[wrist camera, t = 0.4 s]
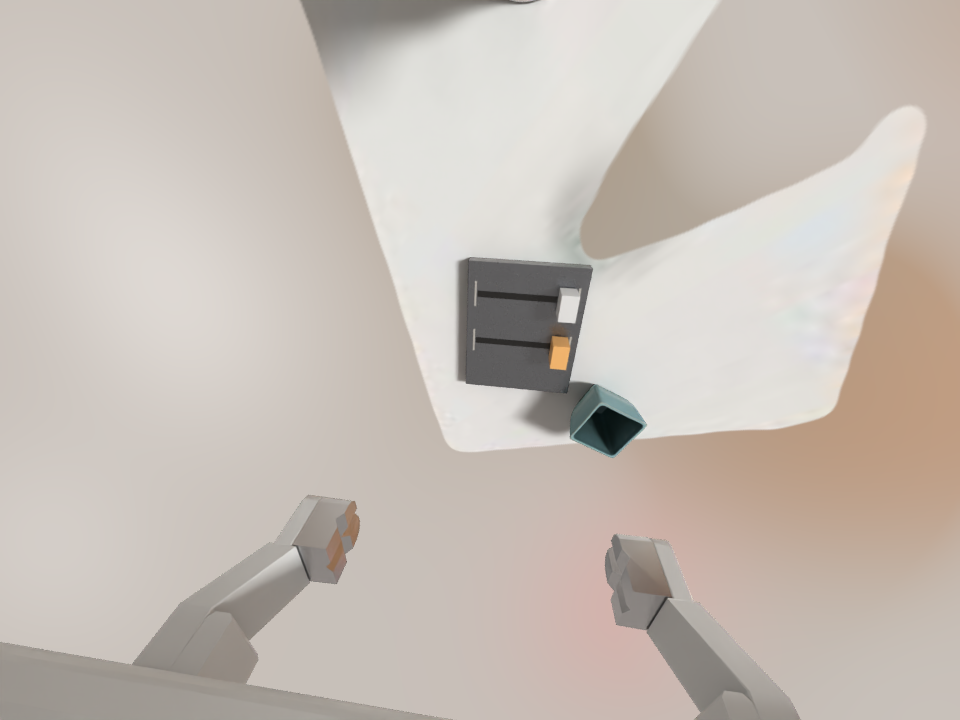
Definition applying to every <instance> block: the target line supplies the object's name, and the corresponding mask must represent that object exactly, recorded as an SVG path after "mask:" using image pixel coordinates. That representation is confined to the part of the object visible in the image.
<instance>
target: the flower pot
mask: <svg viewBox="0 0 960 720" xmlns="http://www.w3.org/2000/svg"><path fill="white" fill-rule="evenodd" d="M646 426H647V424H646V423H645V421H644V420H643V418H642V417H641V415H640V414H639V412H638V411H637V410H636V408H635V407H634V406H633V405H632V404H631V403H630V402H629V401H627V400H626V399H624V398H622V397H621V396H619V395H617V394H614V393H613V392H610V391H608V390H606V389H604V388H602V387H600V386H598V385H593V386H592V387H591V388H590V390H589V391H588V392H587V393H586V394H585V396H584V397H583V398H582V399H581V400H580V402H579V403H578V404H577V406H576V407H575V409H574V410H573V413H572V415H571V420H570V439H572V440H573V441H576V442H578V443H580V444H583V445H585V446H586V447H589V448H591V449H593V450H595V451H597V452H600V453H602V454H604V455H606V456H608V457H611V458H614V457H616V456H617V455H618V454H619V453H620V452H621V451H622V450H623V449H624V448H625V447H626V446H627V445H628V444H629V443H630V442H631V441H632V440H633V439H634V438H635V437H636V436H637V435H638V434H639V433H640V432H642V431H643V430H644V429H645V427H646Z"/></svg>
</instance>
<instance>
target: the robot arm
mask: <svg viewBox="0 0 960 720" xmlns="http://www.w3.org/2000/svg"><path fill="white" fill-rule="evenodd" d="M511 1H517V2H528V1H534V0H511ZM356 509H357V507H356V503H355V501H349V500H342V499H335V498H327V497H322V496H314V495H308V496H307V497H305V498H304V499H303V500H302V502H301V503H300V505H299V506H298V508H297V509H296V511H295V512H294V514H293V515H292V517H291V518H290V520H289V521H288V523H287V524H286V526H285V527H284V529H283V530H282V532H281V533H280V535H279V536H278V538H277V539H276V541H275V542H274V543H268V544H266V545H265V546H264V547H262V548H261V549H259V550H258V551H256V552H255V553H253V554H252V555H250V556H249V557H247V558H246V559H244V560H243V561H242V562H240V563H239V564H237V565H236V566H234V567H233V568H231V569H230V570H228V571H227V572H225V573H224V574H222V575H221V576H219V577H218V578H217V579H215V580H214V581H213V582H211V583H209V584H208V585H206V586H205V587H204V588H202V589H200V590H199V591H197V592H196V593H194V594H193V595H192V596H190V597H189V598H187V599H186V600H184V601H183V602H181V603H180V604H179V605H178V607H177V608H176V609H175V610H174V612H173V613H172V614H171V615H170V617H169V618H168V619H167V621H166V622H165V623H164V624H163V626H162V627H161V628H160V630H159V631H158V632H157V633H156V634H155V636H154V637H153V638H152V640H151V641H150V642H149V643H148V645H147V646H146V647H145V648H144V650H143V651H142V652H141V653H140V655H139V656H138V657H137V659H136V660H135V661H134V662H133V664H132V665H131V664H125V663H118V662H113V661H107V660H102V659H96V658H90V657H83V656H78V655H72V654H66V653H61V652H54V651H49V650H43V649H37V648H32V647H26V646H20V645H15V644H10V643H2V642H0V720H451V719H445V718H439V717H434V716H427V715H422V714H415V713H410V712H404V711H399V710H393V709H387V708H380V707H375V706H369V705H363V704H357V703H352V702H345V701H340V700H334V699H329V698H323V697H317V696H311V695H305V694H299V693H293V692H288V691H282V690H276V689H270V688H264V687H259V686H253V685H247V684H246V682H247V680H248V678H249V677H250V675H251V673H252V671H253V669H254V667H255V665H256V663H257V661H258V654H257V653H256V651H255V650H254V648H253V646H252V645H251V643H250V642H249V640H250V639H251V638H252V637H253V636H254V635H255V634H256V633H257V632H258V631H259V630H261V629H262V628H263V627H264V626H265V625H266V624H267V623H268V622H269V621H270V620H271V619H272V618H273V617H274V616H275V615H276V614H277V613H278V612H280V611H281V610H282V609H283V608H284V607H285V606H286V605H287V604H288V603H289V602H290V601H291V600H292V599H293V598H294V597H295V596H296V595H298V594H299V593H300V592H301V591H302V590H303V589H304V588H305V587H306V586H307V585H308V584H309V583H310V582H309V581H313V582H322V583H331V584H337V582H338V580H339V578H340V576H341V574H342V571H343V569H344V567H345V565H346V563H347V561H346V556H345V554H346V553H347V552H348V551H350V550H351V549H352V548H353V547H354V544H355V542H356V540H357V536H358V533H359V527H360V520H359V517H358V516H357V515H356V514H355V511H356ZM611 542H612V546H613V547H611V548H609V549H608V550H607V553H606V557H605V571H606V577H607V583H608V584H609V585H610V586H611V588H612V589H613V590H614V593H613V595H612V598H611V603H612V607H613V612H614V616H615V622H616V625H619V626H625V627H631V628H636V629H642V630H647V634H648V635H649V637H650V638H651V639H652V641H653V642H654V644H655V645H656V647H657V648H658V650H659V651H660V653H661V654H662V656H663V657H664V659H665V660H666V662H667V663H668V665H669V666H670V668H671V669H672V671H673V672H674V674H675V675H676V677H677V678H678V680H679V681H680V682H681V684H682V685H683V687H684V689H685V690H686V691H687V693H688V694H689V696H690V697H691V699H692V700H693V702H694V703H695V705H696V706H697V708H698V709H699V711H700V712H701V713H700V714H699V715H698V716H697V717H696V718H695V719H694V720H800V718H799V716H798V714H797V711H796V709H795V707H794V706H793V703H792V702H791V700H790V698H789V697H788V696H787V695H786V694H785V693H784V692H783V691H782V690H781V689H780V688H779V687H778V686H777V685H776V683H775V682H773V680H772V679H771V678H770V677H769V676H768V675H767V674H766V673H765V672H764V671H763V670H762V669H761V668H760V666H759V665H758V664H757V663H756V662H755V661H754V660H753V659H752V658H751V657H750V656H749V655H748V654H747V653H746V652H745V650H744V649H743V648H742V647H741V646H740V645H739V644H738V643H737V642H736V641H735V640H734V639H733V638H732V637H731V636H730V634H729V633H728V632H727V631H726V630H725V629H724V628H723V627H722V626H721V625H720V624H719V623H718V622H717V621H716V620H715V618H713V616H712V615H711V614H710V613H709V612H708V611H707V610H706V609H705V608H704V607H703V606H702V605H701V604H700V603H699V602H696V601H693V598H692V596H691V593H690V591H689V589H688V586H687V583H686V581H685V578H684V576H683V573H682V571H681V568H680V566H679V564H678V561H677V558H676V556H675V553H674V551H673V548H672V546H671V544H670V543H669V542H668V541H667V540H661V539H652V538H648V537H639V536H630V535H620V534H615V535H614V536H613V538H612V540H611Z"/></svg>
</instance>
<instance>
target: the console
mask: <svg viewBox="0 0 960 720" xmlns="http://www.w3.org/2000/svg"><path fill="white" fill-rule="evenodd" d="M592 271H593V268H592V267H591V265H580V264H565V263H550V262H536V261H521V260H506V259H491V258H476V257H470V259H469V267H468V312H467V357H466V384H475V385H486V386H496V387H507V388H517V389H527V390H538V391H548V392H559V393H567V391H568V386H569V381H570V376H571V372H572V367H573V362H574V357H575V352H576V348H577V343H578V338H579V333H580V328H581V324H582V319H583V314H584V309H585V305H586V300H587V295H588V290H589V285H590V281H591V276H592ZM560 288H572V289H577V290H578V292H579V295H580V301H579V307H578V312H577V317H576V322H575V323H565V322H558V321H557V316H556V308H557V302H558V296H559V290H560ZM552 336H557V337H568V340H569V344H570V352H569V357H568V362H567V367H566V370H559V369H550V366H549V358H548V357H549V351H550V345H551V339H552Z"/></svg>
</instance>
